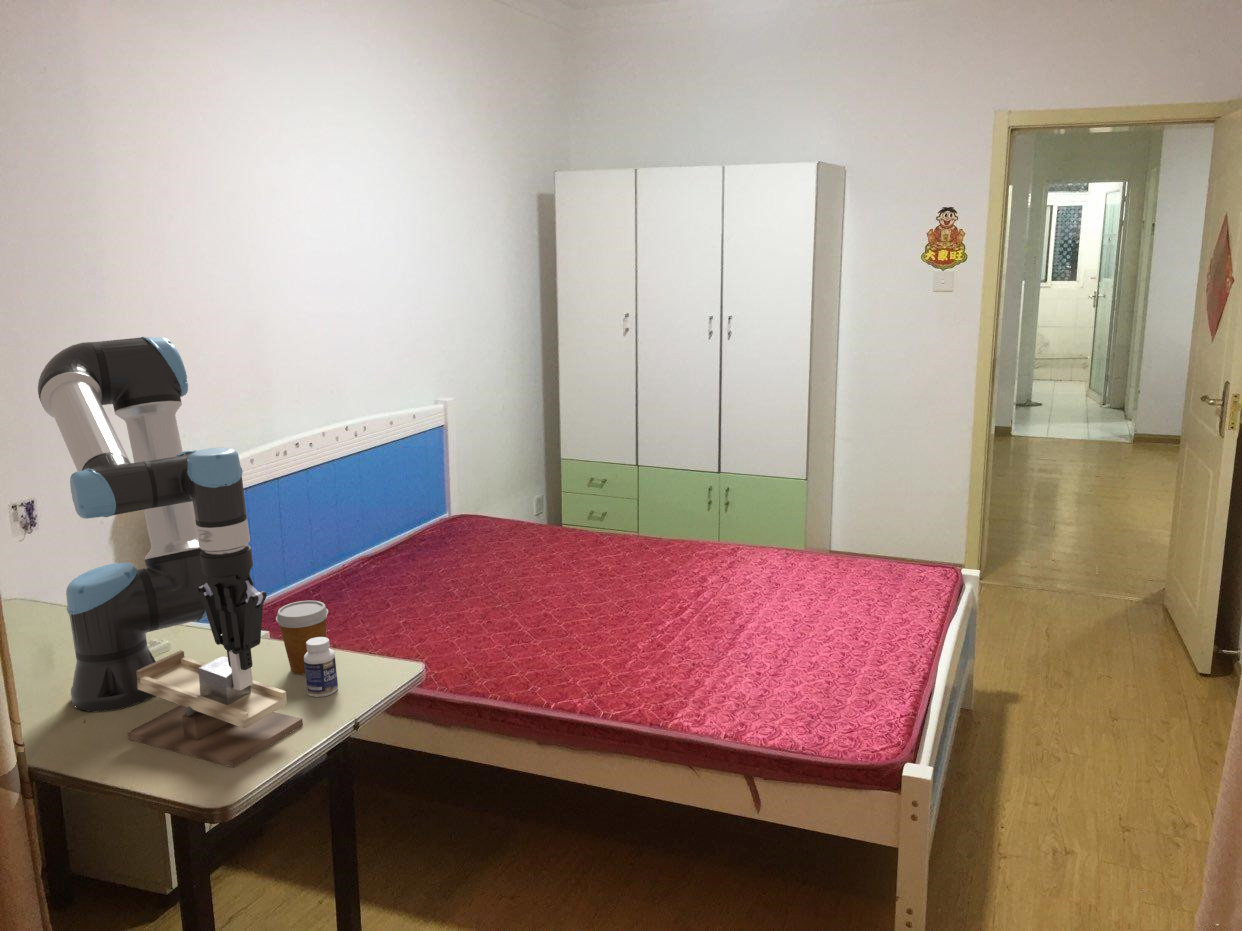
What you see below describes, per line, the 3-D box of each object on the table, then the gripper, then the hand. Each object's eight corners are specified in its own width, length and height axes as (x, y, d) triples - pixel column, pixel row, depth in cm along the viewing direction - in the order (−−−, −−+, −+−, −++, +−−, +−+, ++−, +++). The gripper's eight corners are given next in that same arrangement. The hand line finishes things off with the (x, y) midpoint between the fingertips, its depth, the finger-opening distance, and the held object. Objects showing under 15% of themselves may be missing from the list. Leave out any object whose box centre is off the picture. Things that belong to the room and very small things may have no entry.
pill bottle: (329, 698, 180) (324, 647, 178) (302, 697, 181) (296, 646, 179) (343, 685, 185) (338, 635, 183) (316, 684, 186) (311, 634, 184)
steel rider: (200, 695, 165) (198, 668, 164) (224, 683, 169) (222, 656, 168) (227, 705, 163) (225, 677, 161) (250, 692, 167) (249, 665, 166)
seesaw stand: (128, 739, 168) (124, 711, 167) (200, 701, 181) (197, 675, 180) (234, 767, 157) (230, 738, 156) (302, 725, 170) (299, 697, 169)
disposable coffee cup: (334, 673, 190) (328, 613, 188) (281, 681, 188) (274, 620, 185) (333, 654, 199) (327, 596, 197) (282, 661, 197) (275, 603, 194)
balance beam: (135, 696, 169) (133, 671, 167) (184, 672, 177) (183, 649, 176) (242, 736, 159) (241, 710, 158) (288, 709, 167) (288, 684, 166)
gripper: (176, 550, 158) (196, 689, 163) (237, 558, 152) (256, 702, 158) (213, 536, 165) (231, 671, 170) (273, 544, 159) (290, 683, 164)
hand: (243, 686), depth 164 cm, fingers closed
